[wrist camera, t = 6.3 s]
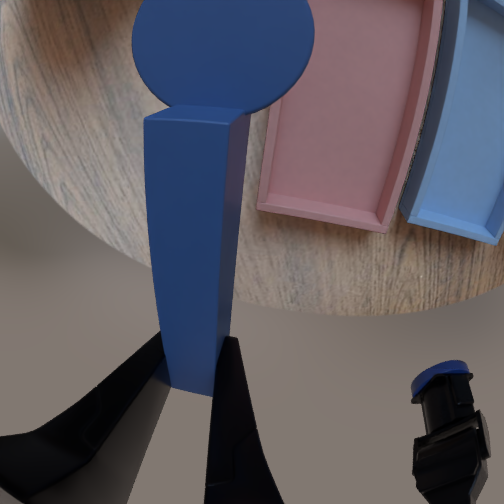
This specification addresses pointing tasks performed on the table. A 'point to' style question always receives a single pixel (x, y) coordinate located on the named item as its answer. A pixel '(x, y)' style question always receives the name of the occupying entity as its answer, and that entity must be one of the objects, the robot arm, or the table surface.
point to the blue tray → (463, 129)
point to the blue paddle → (206, 154)
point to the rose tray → (352, 113)
